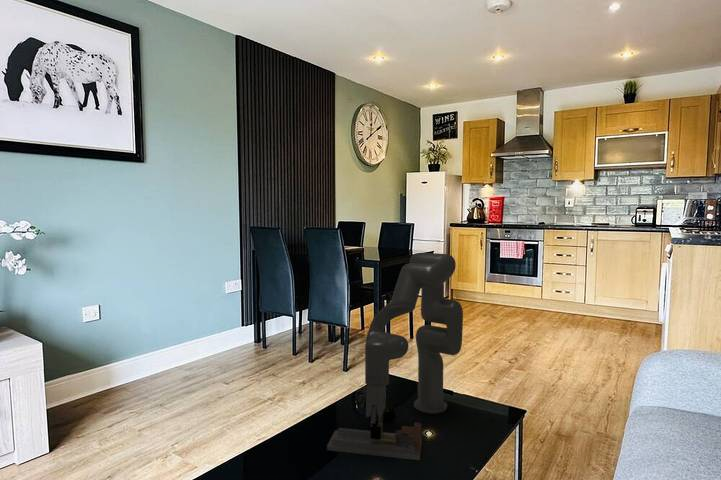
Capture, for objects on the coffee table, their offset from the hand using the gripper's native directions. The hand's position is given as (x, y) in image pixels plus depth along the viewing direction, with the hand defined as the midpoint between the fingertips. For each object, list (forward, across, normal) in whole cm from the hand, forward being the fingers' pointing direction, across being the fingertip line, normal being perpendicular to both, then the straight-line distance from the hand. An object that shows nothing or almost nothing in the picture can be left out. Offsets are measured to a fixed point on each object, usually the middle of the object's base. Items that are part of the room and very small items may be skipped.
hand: (377, 433), depth 140 cm
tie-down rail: (+4, 0, -1) cm, 4 cm away
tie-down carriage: (+3, 0, +4) cm, 5 cm away
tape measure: (+5, -21, 0) cm, 22 cm away
